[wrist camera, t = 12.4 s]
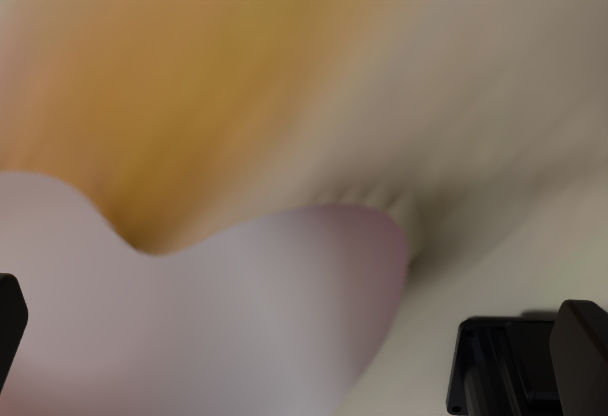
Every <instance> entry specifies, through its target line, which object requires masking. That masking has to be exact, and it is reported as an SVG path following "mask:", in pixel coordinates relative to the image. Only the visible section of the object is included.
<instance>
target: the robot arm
mask: <svg viewBox="0 0 608 416" xmlns="http://www.w3.org/2000/svg"><path fill="white" fill-rule="evenodd" d="M27 321H28V309H27V306H26V303H25V300H24V297H23V294H22V291H21V289H20V286H19V283H18V280H17V278H16V277H15V276H14V275H12V274H8V273H0V394H1V391H2V388H3V386H4V383H5V381H6V378H7V375H8V373H9V370H10V367H11V365H12V362H13V359H14V357H15V354H16V352H17V349H18V346H19V344H20V341H21V338H22V336H23V333H24V330H25V327H26V325H27ZM468 330H472V331H468ZM446 407H447V412H448V413H449V414H451V415H458V416H608V313H607V312H606V311H605V310H603V309H602V308H601V307H599V306H598V305H597V304H595V303H594V302H592V301H589V300H572V299H569V300H565V301H564V302H563V303H562V305H561V307H560V309H559V312H558V315H557V318H556V321H510V320H466V321H463V322H462V323H461V324H460V325H459V328H458V334H457V340H456V346H455V352H454V358H453V364H452V369H451V375H450V381H449V387H448V393H447V399H446Z"/></svg>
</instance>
